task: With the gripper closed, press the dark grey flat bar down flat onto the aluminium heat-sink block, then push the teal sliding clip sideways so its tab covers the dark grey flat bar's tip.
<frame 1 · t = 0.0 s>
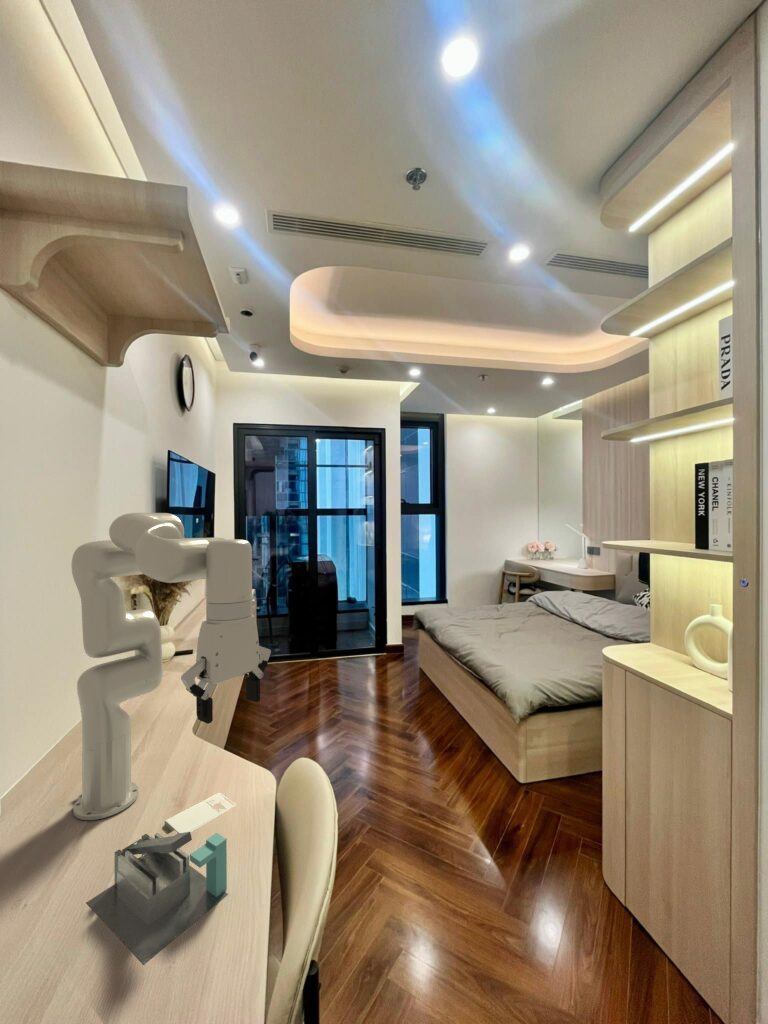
hand: (230, 710, 75), 31 cm above the table, fingers open, 9 cm apart
dark grey flat bar: (154, 845, 74), point 9 cm above the table, hinge at 25.0°
external hard drive: (202, 820, 94), on the table
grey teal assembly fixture: (153, 900, 74), on the table
clip: (208, 870, 73), point 5 cm above the table, slide at 0.0 cm
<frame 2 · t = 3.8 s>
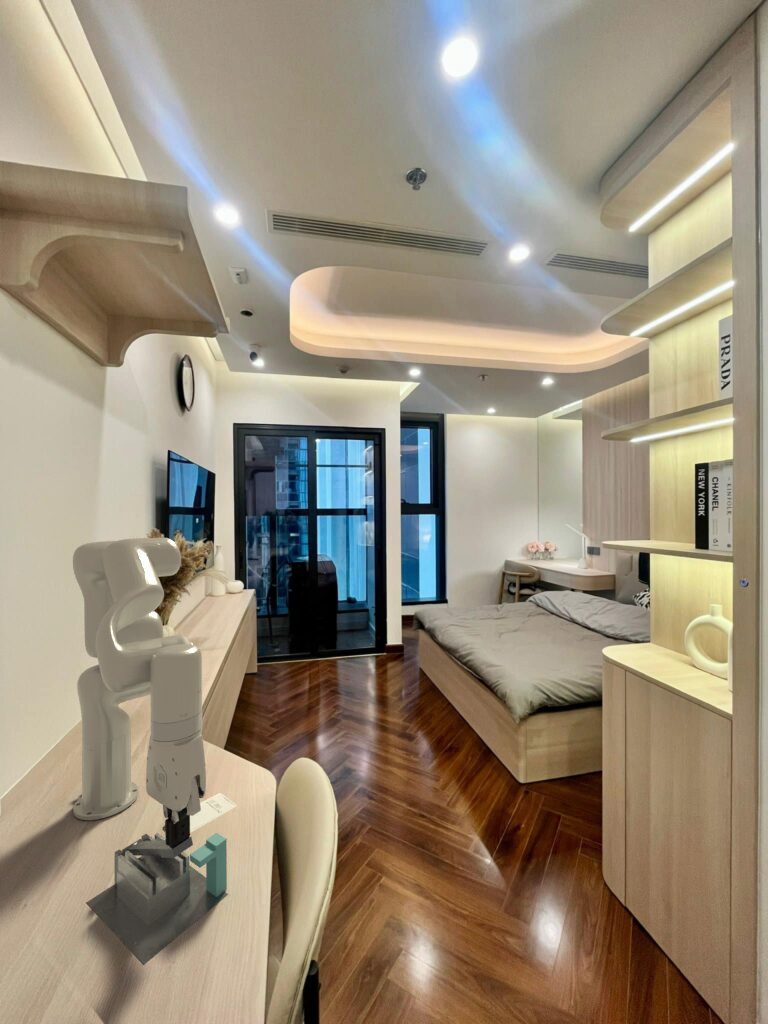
hand: (177, 841, 70), 13 cm above the table, fingers closed
dark grey flat bar: (155, 847, 73), point 9 cm above the table, hinge at 22.4°, touching gripper
everything else where it was.
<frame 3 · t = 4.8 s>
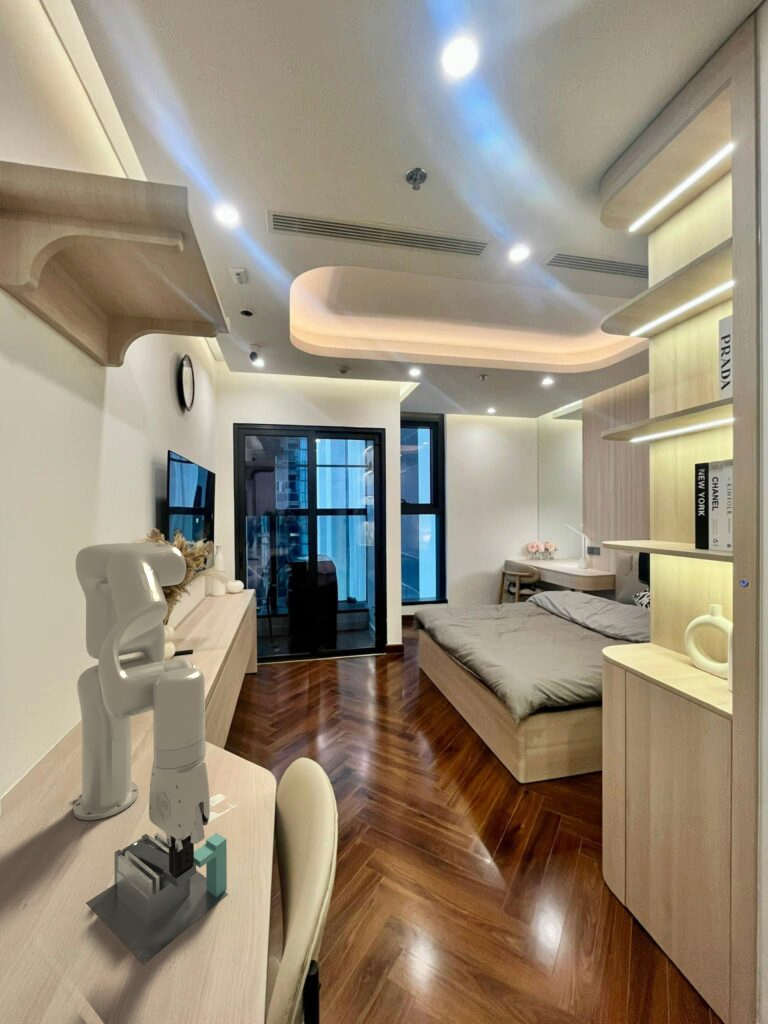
hand: (181, 868, 69), 9 cm above the table, fingers closed
dark grey flat bar: (156, 860, 73), point 7 cm above the table, hinge at 8.5°, touching gripper
everything else where it was.
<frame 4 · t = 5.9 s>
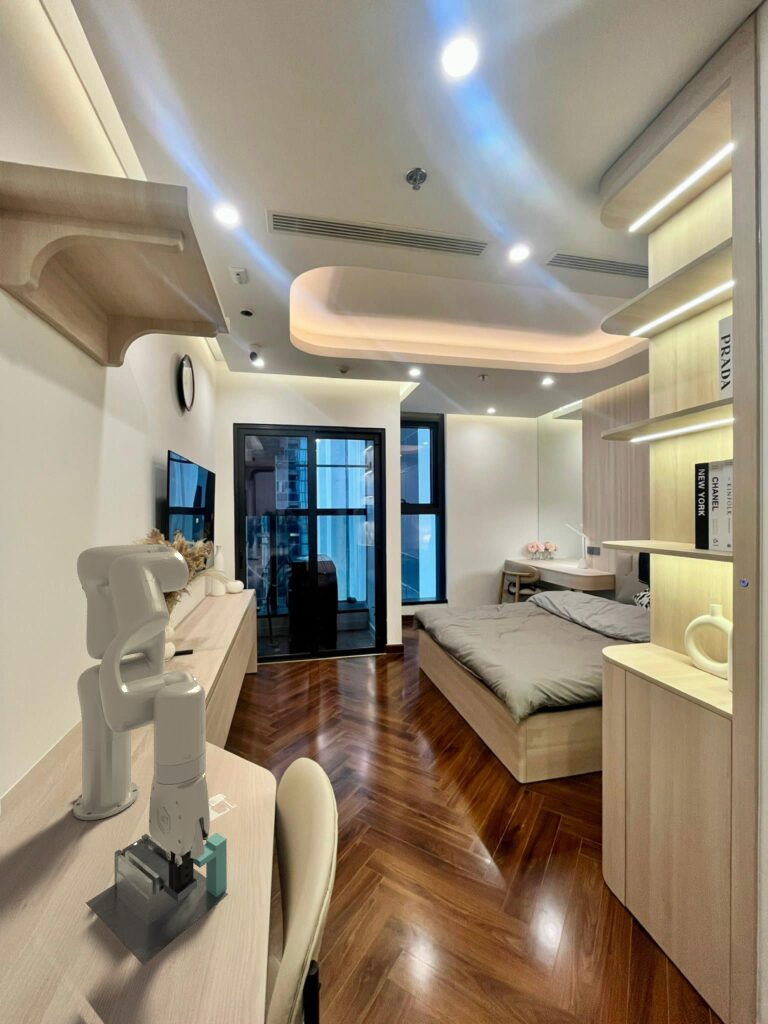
hand: (181, 882, 69), 7 cm above the table, fingers closed
dark grey flat bar: (157, 867, 73), point 6 cm above the table, hinge at 0.9°, touching gripper
everything else where it was.
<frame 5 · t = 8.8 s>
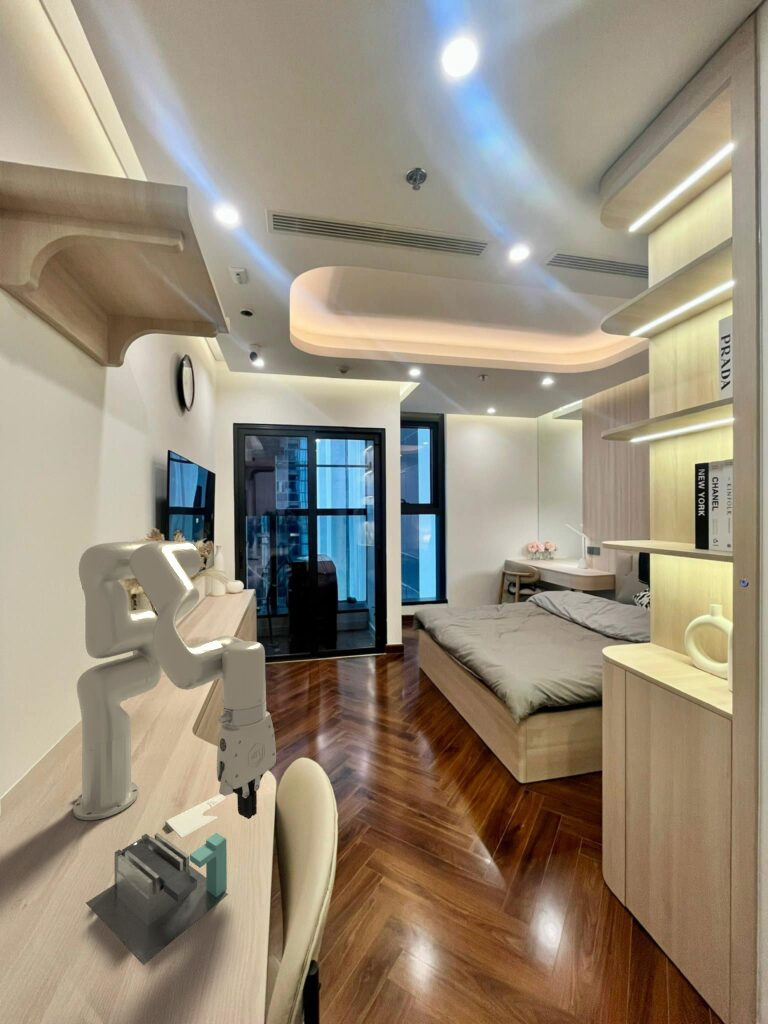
hand: (247, 813, 79), 11 cm above the table, fingers closed
dark grey flat bar: (157, 867, 73), point 6 cm above the table, hinge at 0.7°
everything else where it was.
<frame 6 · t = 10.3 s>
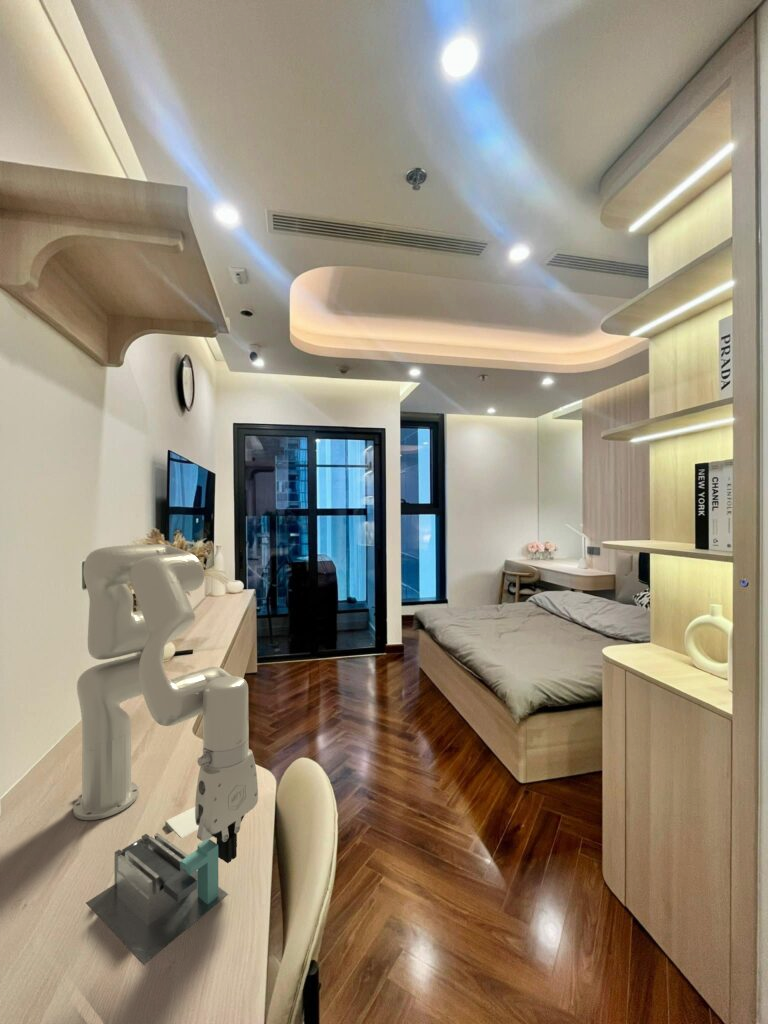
hand: (226, 857, 76), 5 cm above the table, fingers closed
clip: (199, 876, 72), point 5 cm above the table, slide at 1.6 cm, touching gripper
everything else where it was.
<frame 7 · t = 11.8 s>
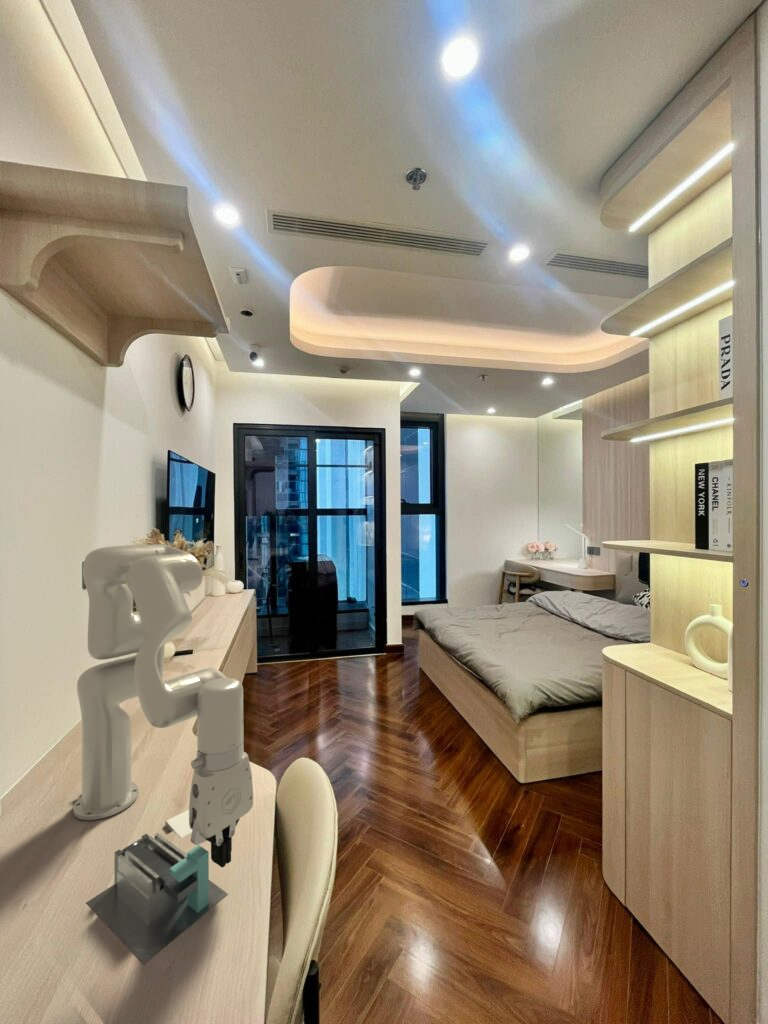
hand: (221, 861, 75), 5 cm above the table, fingers closed
clip: (189, 884, 70), point 5 cm above the table, slide at 3.4 cm
everything else where it was.
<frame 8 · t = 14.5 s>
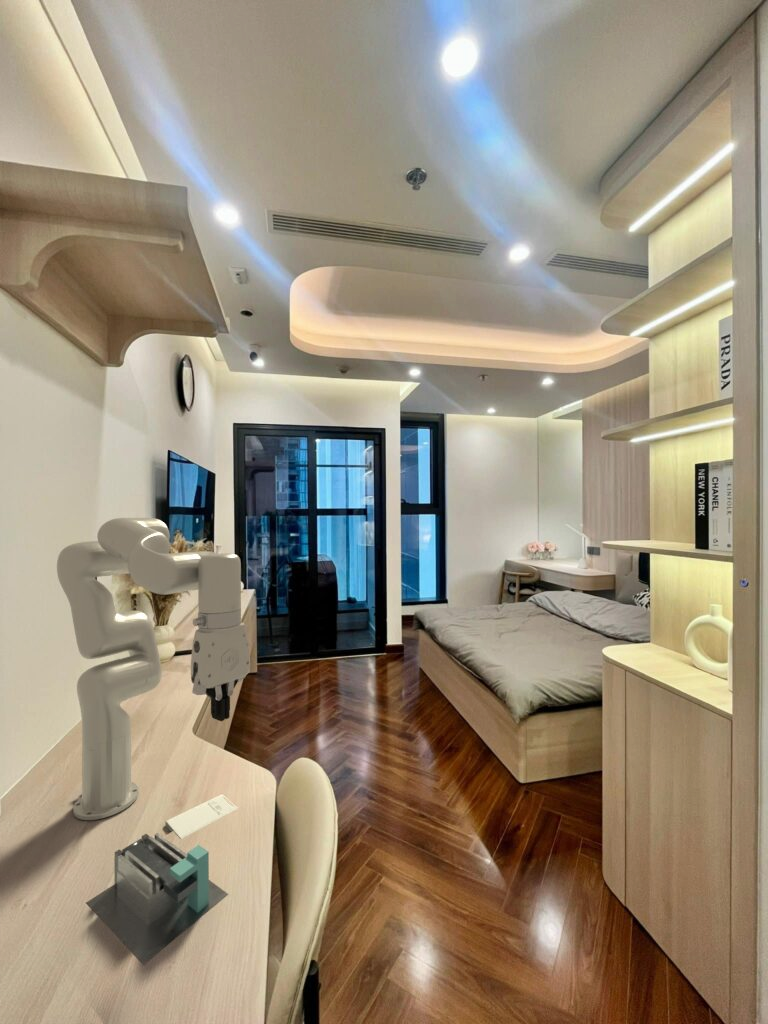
hand: (220, 717, 82), 27 cm above the table, fingers closed
nothing on the table moved.
at the end: dark grey flat bar at +1° (first picture: +25°); clip slide at 3.4 cm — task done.
